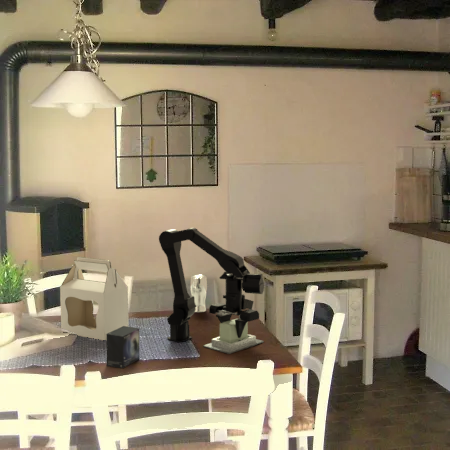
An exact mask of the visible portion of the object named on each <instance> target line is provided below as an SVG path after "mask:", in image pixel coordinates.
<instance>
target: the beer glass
mask: <svg viewBox="0 0 450 450" xmlns="http://www.w3.org/2000/svg"><path fill="white" fill-rule="evenodd" d="M207 280H208V279H207V275H204V274H192V275H190V294H191V297H192V296H194V298H195V305H196V306H197V307H195V312H194V313H204V312H206V311H207V308H206V297H207V290H208V282H207Z"/></svg>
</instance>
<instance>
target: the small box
mask: <svg viewBox="0 0 450 450" xmlns="http://www.w3.org/2000/svg"><path fill="white" fill-rule="evenodd" d="M106 335H107V340H106V365H105V366H106V367H112V368H118V369H124V368H126V367H128V366H129V365H132V364H133V363H134V362H136V361H139V360H140V327H134V326H133V327H132V326H129V327H127V326H122V327H120V328H118V329H116V330H114V331H112V332H109V333H107V334H106ZM138 359H139V360H138Z"/></svg>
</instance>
